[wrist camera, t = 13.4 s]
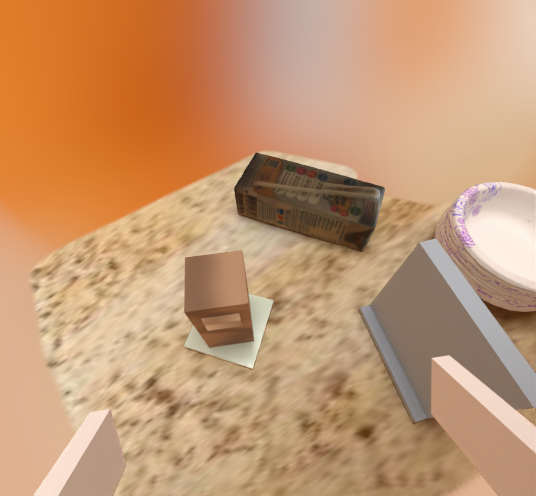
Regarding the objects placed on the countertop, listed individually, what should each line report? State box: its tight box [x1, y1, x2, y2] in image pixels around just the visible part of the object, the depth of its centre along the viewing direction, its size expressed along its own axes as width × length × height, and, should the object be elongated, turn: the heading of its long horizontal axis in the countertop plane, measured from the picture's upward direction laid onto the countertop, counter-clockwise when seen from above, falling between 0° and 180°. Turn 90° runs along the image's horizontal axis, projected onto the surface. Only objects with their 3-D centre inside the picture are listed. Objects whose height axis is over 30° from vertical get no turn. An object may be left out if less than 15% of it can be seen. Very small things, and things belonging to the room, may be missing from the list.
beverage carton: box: [234, 153, 385, 251], centre depth 40 cm, size 8×19×7 cm, turn 69°
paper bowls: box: [434, 182, 536, 312], centre depth 34 cm, size 15×15×8 cm
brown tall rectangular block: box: [184, 251, 254, 348], centre depth 28 cm, size 5×5×11 cm
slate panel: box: [359, 238, 536, 423], centre depth 26 cm, size 12×4×14 cm, turn 16°
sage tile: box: [184, 293, 274, 369], centre depth 33 cm, size 8×8×1 cm
